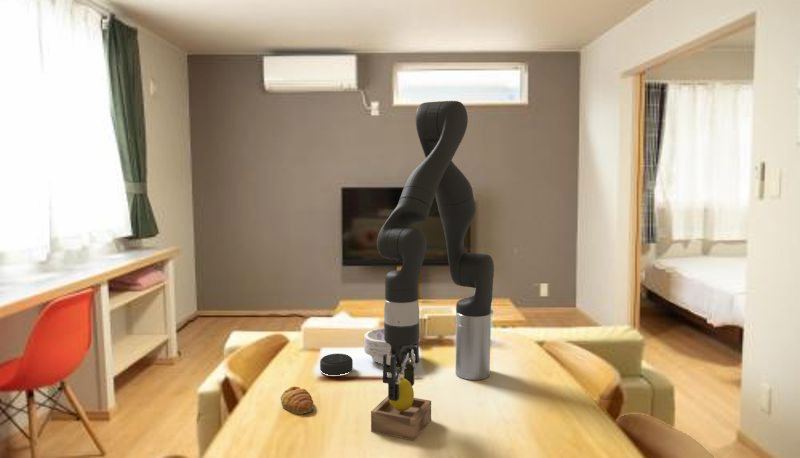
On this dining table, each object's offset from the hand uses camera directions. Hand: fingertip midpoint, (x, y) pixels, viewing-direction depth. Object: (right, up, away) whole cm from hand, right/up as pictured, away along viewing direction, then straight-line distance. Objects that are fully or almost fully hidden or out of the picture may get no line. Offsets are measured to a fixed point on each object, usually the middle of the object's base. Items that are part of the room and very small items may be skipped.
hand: (401, 392), depth 120 cm
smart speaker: (-18, -4, +32) cm, 37 cm away
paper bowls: (-3, -3, +41) cm, 41 cm away
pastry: (-24, -7, +11) cm, 28 cm away
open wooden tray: (0, -8, +1) cm, 8 cm away
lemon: (0, -5, 0) cm, 5 cm away
